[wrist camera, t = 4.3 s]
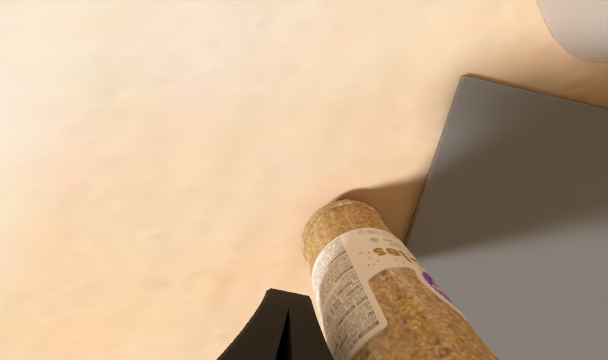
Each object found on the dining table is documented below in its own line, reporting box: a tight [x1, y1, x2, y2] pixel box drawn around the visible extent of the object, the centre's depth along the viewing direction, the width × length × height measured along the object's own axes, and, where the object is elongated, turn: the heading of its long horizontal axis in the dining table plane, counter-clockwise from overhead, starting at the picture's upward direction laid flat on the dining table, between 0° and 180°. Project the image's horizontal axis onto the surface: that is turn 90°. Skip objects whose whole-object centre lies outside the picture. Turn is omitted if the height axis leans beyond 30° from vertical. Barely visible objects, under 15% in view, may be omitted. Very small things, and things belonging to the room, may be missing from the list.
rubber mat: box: [404, 76, 608, 360], centre depth 17 cm, size 18×18×1 cm
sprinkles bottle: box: [301, 199, 499, 360], centre depth 11 cm, size 5×5×13 cm
